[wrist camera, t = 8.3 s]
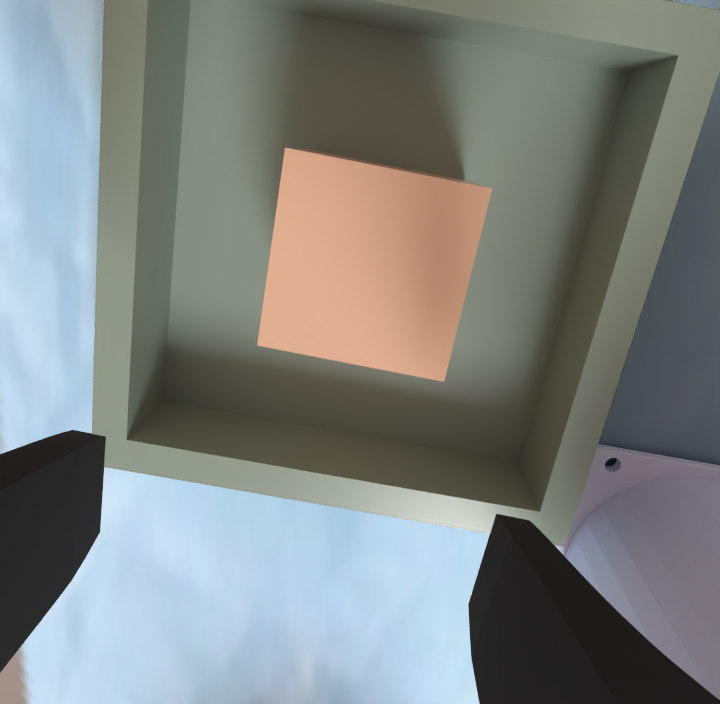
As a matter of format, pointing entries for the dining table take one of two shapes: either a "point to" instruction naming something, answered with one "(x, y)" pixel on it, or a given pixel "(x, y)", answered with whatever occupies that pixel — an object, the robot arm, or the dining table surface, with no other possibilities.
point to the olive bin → (405, 149)
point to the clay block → (370, 262)
